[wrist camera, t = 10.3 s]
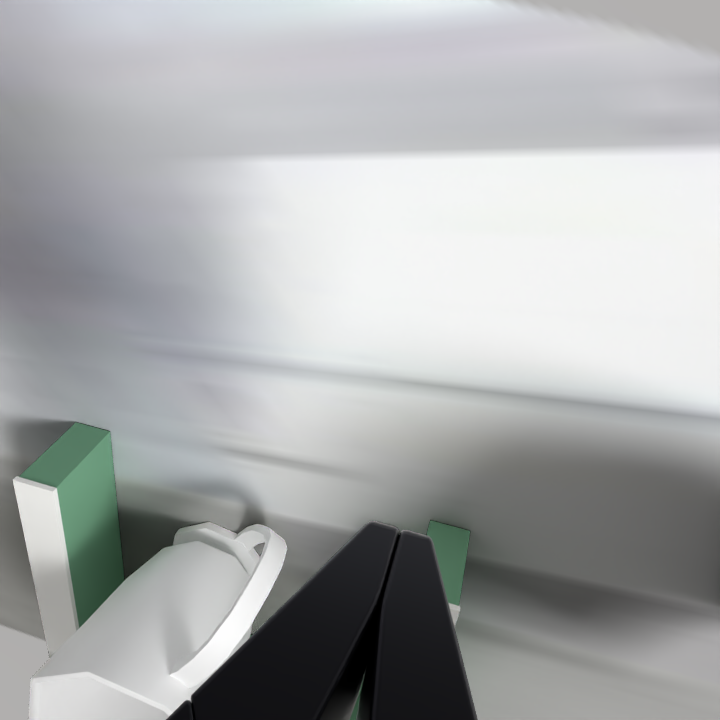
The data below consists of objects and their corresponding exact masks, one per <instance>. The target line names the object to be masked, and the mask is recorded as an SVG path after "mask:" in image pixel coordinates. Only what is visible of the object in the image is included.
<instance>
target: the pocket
mask: <svg viewBox="0 0 720 720" xmlns="http://www.w3.org/2000/svg"><path fill="white" fill-rule="evenodd" d="M13 484H14V489H15V494H16V498H17V503H18V508H19V513H20V518H21V522H22V527H23V532H24V537H25V542H26V547H27V551H28V556H29V561H30V566H31V571H32V576H33V580H34V585H35V590H36V595H37V600H38V605H39V609H40V614H41V619H42V624H43V629H44V634H45V638H46V643H47V647H48V653H49V658H50V657H51V656H52V655H53V654H54V653H55V652H56V651H57V650H58V649H59V648H60V647H61V646H62V645H63V644H64V643H65V642H66V641H67V640H68V639H69V638H70V637H71V636H72V635H73V634H74V633H75V632H76V631H77V630H78V629H79V628H80V627H81V626H82V625H83V624H84V623H85V622H86V621H87V620H88V619H89V618H90V617H91V616H92V614H93V613H94V612H95V611H96V610H97V609H98V608H99V607H100V606H101V605H102V604H103V603H104V602H105V601H106V600H107V599H108V598H109V596H110V595H111V594H112V593H113V592H114V591H115V590H116V589H117V588H118V587H119V586H120V585H121V584H122V583H123V582H124V581H125V580H124V570H123V560H122V550H121V539H120V529H119V519H118V508H117V498H116V488H115V477H114V467H113V457H112V446H111V436H110V431H106V430H102V429H99V428H95V427H91V426H88V425H84V424H81V423H77V422H76V423H75V424H74V425H73V426H72V427H71V428H69V429H68V430H67V431H66V432H65V433H64V434H63V435H62V436H61V437H60V438H59V439H58V440H57V441H56V442H55V443H54V444H53V445H52V446H51V447H50V448H49V449H47V450H46V451H45V452H44V453H43V454H42V455H41V456H40V457H39V458H38V459H37V460H36V461H35V462H34V463H33V464H32V465H31V466H30V467H29V468H28V469H26V470H25V471H24V472H23V473H22V474H21V475H20V476H19V477H17V476H16V477H15V478H14V479H13ZM427 536H429V537H430V538H431V539H432V541H433V543H434V547H435V551H436V555H437V559H438V563H439V567H440V571H441V575H442V579H443V583H444V587H445V591H446V595H447V599H448V603H449V607H450V611H451V615H452V619H453V623H454V627H455V625H456V622H457V619H458V616H459V613H460V607H461V606H459V602H460V596H461V589H462V583H463V576H464V570H465V563H466V557H467V550H468V544H469V537H470V531H468V530H465V529H461V528H457V527H454V526H450V525H446V524H443V523H439V522H436V521H432V520H430V523H429V527H428V531H427ZM251 636H252V635H251V634H250V637H251ZM363 680H364V678H363ZM362 684H363V682H362ZM361 689H362V685H361V688H360V692H359V695H358V698H357V701H356V704H355V706H354V709H353V712H352V715H351V717H350V720H356V717H357V711H358V705H359V699H360V693H361Z"/></svg>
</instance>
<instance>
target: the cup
mask: <svg viewBox="0 0 720 720" xmlns="http://www.w3.org/2000/svg"><path fill="white" fill-rule="evenodd" d="M264 542H265V545H264V548H263V551H262V554H261V557H260V556H259V555H258V554H257V552H256V551H255V549H254V548H253V547H254V546H255V545H257V544H260V543H264ZM286 552H287V546H286V543H285V540H284V539H283V538H281V537H280V536H279V535H278V534H276V533H275V532H274V531H273V530H271V529H270V528H269V527H267V526H264V525H260V524H255V525H251V526H248V527H246V528H245V529H244V530H242V531H241V532H240V533H238V534H237V533H234V532H232V531H230V530H228V529H225V528H223V527H221V526H218V525H216V524H214V523H211V522H206V523H202V524H197V525H193V526H189V527H184V528H180V529H179V530H178V531H177V533H176V534H175V537H174V542H173V546H170V547H165V548H163V549H162V550H160V551H159V552H158V553H157V554H156V555H154V556H153V557H152V558H151V559H150V560H148V561H147V562H146V563H145V564H144V565H142V566H141V567H140V568H139V569H138V570H136V571H135V572H134V573H133V574H132V575H130V576H129V577H128V578H127V579H126V580H125V581H124V582H123V583H122V584H121V585H120V586H119V587H118V588H117V589H116V590H115V591H114V592H113V593H112V594H111V595H110V596H109V598H108V599H107V600H106V601H105V602H104V603H103V604H102V605H101V606H100V607H99V608H98V609H97V610H96V611H95V612H94V613H93V614H92V616H91V617H90V618H89V619H88V620H87V621H86V622H85V623H84V624H83V625H82V626H81V627H80V628H79V629H78V630H77V631H76V632H75V633H74V634H73V635H72V636H71V637H70V638H69V639H68V640H67V641H66V642H65V643H64V644H63V645H62V646H61V647H60V648H59V649H58V650H57V651H56V652H55V653H54V654H53V655H52V656H51V657H50V659H49V660H48V661H47V662H46V663H45V664H44V665H43V666H42V667H41V668H40V669H39V670H38V671H37V672H36V673H35V674H34V675H33V677H32V678H31V680H30V700H29V717H28V718H29V720H166V719H167V718H168V717H169V716H170V715H171V714H172V713H173V712H174V711H175V710H176V709H177V708H178V707H179V706H180V705H181V704H182V703H183V702H184V701H186V700H189V701H191V695H192V694H193V693H194V692H195V691H196V690H197V689H198V688H199V687H200V686H201V685H202V684H203V683H204V682H205V681H206V680H207V679H208V678H209V677H210V676H211V675H212V674H213V673H214V672H215V671H216V670H217V669H218V668H219V667H220V666H221V665H222V664H223V663H225V662H226V661H227V660H228V659H229V658H230V657H231V656H232V655H233V654H234V653H235V652H236V651H237V650H238V649H239V648H240V647H241V646H242V645H243V644H244V643H245V642H246V641H247V640H248V639H249V638H250V634H251V628H252V622H253V621H254V619H255V617H256V615H257V614H258V612H259V610H260V608H261V607H262V605H263V603H264V601H265V600H266V598H267V596H268V595H269V593H270V591H271V589H272V587H273V585H274V583H275V581H276V579H277V577H278V575H279V573H280V571H281V569H282V566H283V563H284V559H285V556H286Z"/></svg>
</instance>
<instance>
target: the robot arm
mask: <svg viewBox="0 0 720 720" xmlns="http://www.w3.org/2000/svg"><path fill="white" fill-rule="evenodd" d="M399 533H400V535H399ZM363 678H364V680H363ZM362 682H363V684H362ZM361 685H362V689H361V693H360V699H359V705H358V711H357V717H356V720H478V719H477V715H476V711H475V707H474V703H473V699H472V695H471V691H470V687H469V683H468V679H467V675H466V671H465V667H464V663H463V659H462V655H461V651H460V647H459V643H458V639H457V635H456V631H455V627H454V623H453V619H452V615H451V611H450V607H449V603H448V599H447V595H446V591H445V587H444V583H443V579H442V575H441V571H440V567H439V563H438V559H437V555H436V551H435V547H434V543H433V541H432V539H431V538H430V537H429V536H427V535H423V534H420V533H416V532H413V531H409V530H402V531H401V532H399V529H398V528H397V527H395V526H391V525H388V524H384V523H381V522H377V521H370V522H368V523H367V524H366V525H365V526H363V527H362V528H361V529H360V530H359V531H358V532H357V533H356V534H355V535H354V536H353V537H352V538H351V539H350V540H349V541H348V542H347V543H346V544H345V545H344V546H343V547H342V548H341V549H340V550H339V551H338V552H337V553H336V554H335V555H334V556H333V557H332V558H331V559H330V560H329V561H328V562H327V563H326V564H325V565H324V566H323V567H322V568H321V569H320V570H319V571H318V572H316V573H315V574H314V575H313V576H312V577H311V578H310V579H309V580H308V581H307V582H306V583H305V584H304V585H303V586H302V587H301V588H300V589H299V590H298V591H297V592H296V593H295V594H294V595H293V596H292V597H291V598H290V599H289V600H288V601H287V602H286V603H285V604H284V605H283V606H282V607H281V608H280V609H279V610H278V611H277V612H276V613H275V614H274V615H273V616H272V617H270V618H269V619H268V620H267V621H266V622H265V623H264V624H263V625H262V626H261V627H260V628H259V629H258V630H257V631H256V632H255V633H254V634H253V635H252V636H251V637H250V638H249V639H248V640H247V641H246V642H245V643H244V644H243V645H242V646H241V647H240V648H239V649H238V650H237V651H236V652H235V653H234V654H233V655H232V656H231V657H230V658H229V659H228V660H227V661H226V662H225V663H223V664H222V665H221V666H220V667H219V668H218V669H217V670H216V671H215V672H214V673H213V674H212V675H211V676H210V677H209V678H208V679H207V680H206V681H205V682H204V683H203V684H202V685H201V686H200V687H199V688H198V689H197V690H196V691H195V692H194V693H193V694H192V695H191V701H189V700H186V701H184V702H183V703H182V704H181V705H180V706H179V707H178V708H177V709H176V710H175V711H174V712H173V713H172V714H171V715H170V716H169V717H168V718H167V719H166V720H350V717H351V715H352V712H353V709H354V706H355V704H356V701H357V698H358V695H359V692H360V688H361Z"/></svg>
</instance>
